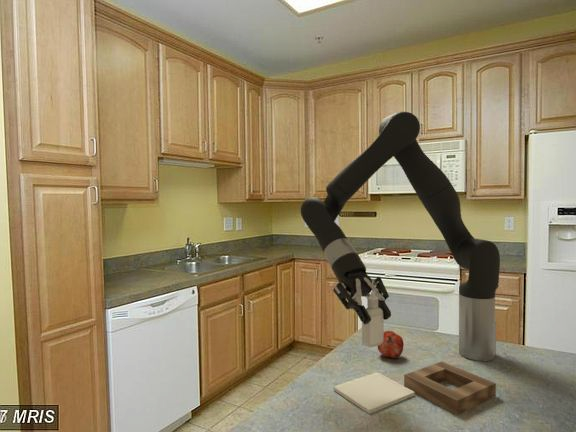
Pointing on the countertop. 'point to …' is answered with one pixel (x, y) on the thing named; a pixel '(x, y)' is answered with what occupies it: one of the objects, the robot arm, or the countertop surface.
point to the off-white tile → (373, 392)
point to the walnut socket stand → (457, 400)
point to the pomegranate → (391, 345)
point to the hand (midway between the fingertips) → (378, 319)
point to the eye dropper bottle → (373, 324)
